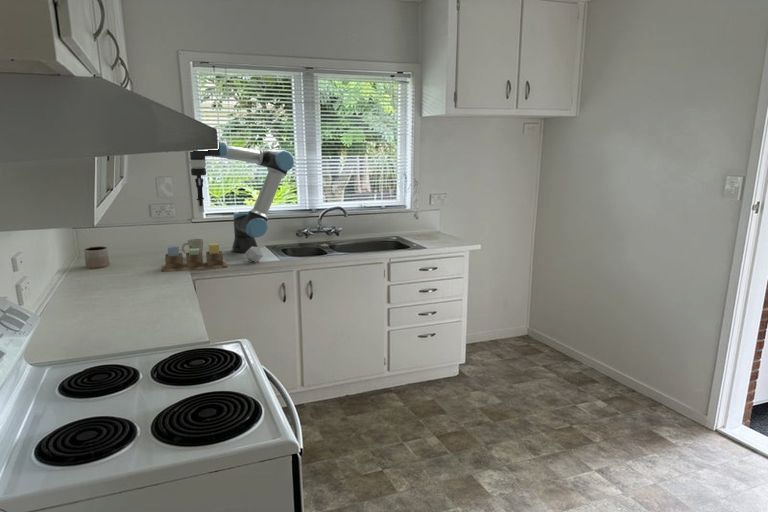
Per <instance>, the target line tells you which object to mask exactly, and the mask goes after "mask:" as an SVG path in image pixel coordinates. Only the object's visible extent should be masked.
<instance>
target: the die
mask: <svg viewBox="0 0 768 512" xmlns="http://www.w3.org/2000/svg"><path fill="white" fill-rule="evenodd" d="M244 255H245V256H246V258H247V261H248V262H249V261H254V262H253V263H258V262H259V261H260V260H261V259H262V258H263V257H264V254H263V253H262V250H261V248H260V247H259V246H258V247H251V248H250V249H249V250H247V251H246V252H245V254H244ZM257 261H258V262H257Z"/></svg>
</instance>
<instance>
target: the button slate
mask: <svg viewBox="0 0 768 512" xmlns="http://www.w3.org/2000/svg"><path fill="white" fill-rule="evenodd" d="M179 247H180V246H179V245H178V244H176V245H168V246H167V254H168V256H179V253H180V252H179V251H180V248H179Z"/></svg>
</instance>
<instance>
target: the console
mask: <svg viewBox="0 0 768 512" xmlns="http://www.w3.org/2000/svg"><path fill="white" fill-rule="evenodd" d="M205 252H206V261H204V258H203V257H204V256H203V253H202V252H199V255H189V251H188V252H187V253H186V254H185V258H186V259H185V260H186V261H185V262H184V259H183V252H179V256H168V253H165V256H164V261H165V264H162V267H161V272H162V273H163V272H166V273H167V272H177V271H180V272H181V271H192V270H195V271H197V270H207V269H222V268H228V264H227V260H224V257H223V256H224V255H223V254H224V253H223V251H222V250H219V253H217V254H209V250H207V251H205Z"/></svg>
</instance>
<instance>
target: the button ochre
mask: <svg viewBox="0 0 768 512" xmlns="http://www.w3.org/2000/svg"><path fill="white" fill-rule="evenodd" d="M219 244H220V243H219V242H216V243H215V242H214V243H213V242H212V243H211V242H210V243H208V251H209V254H217V253H219V251H220V245H219Z"/></svg>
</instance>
